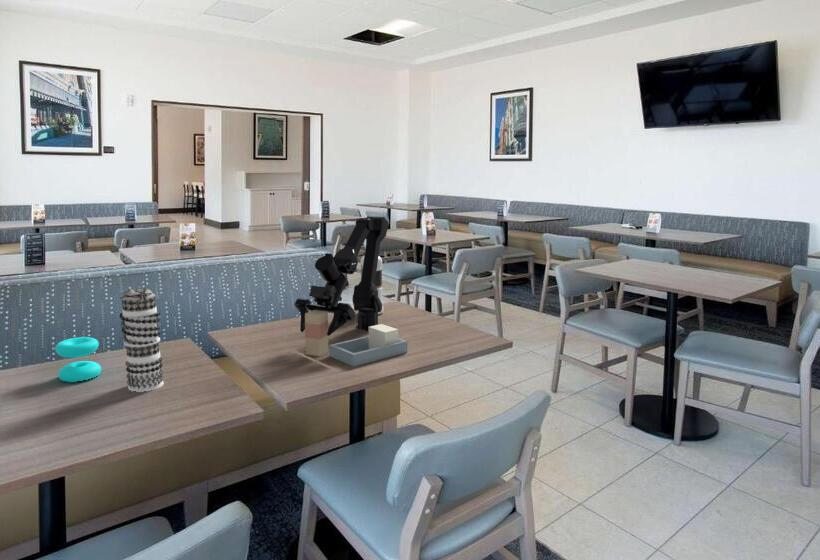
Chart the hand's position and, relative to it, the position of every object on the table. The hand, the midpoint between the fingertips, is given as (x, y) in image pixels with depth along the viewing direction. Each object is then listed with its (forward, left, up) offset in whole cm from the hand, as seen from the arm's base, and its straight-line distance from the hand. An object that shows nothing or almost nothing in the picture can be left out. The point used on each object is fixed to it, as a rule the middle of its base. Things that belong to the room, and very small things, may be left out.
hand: (314, 333), depth 172 cm
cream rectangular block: (-18, +11, -6) cm, 21 cm away
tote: (-12, +11, -7) cm, 17 cm away
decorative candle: (+46, -7, -7) cm, 47 cm away
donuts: (+57, -25, -7) cm, 63 cm away
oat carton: (-1, 0, -7) cm, 7 cm away
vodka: (-45, -30, -7) cm, 55 cm away
